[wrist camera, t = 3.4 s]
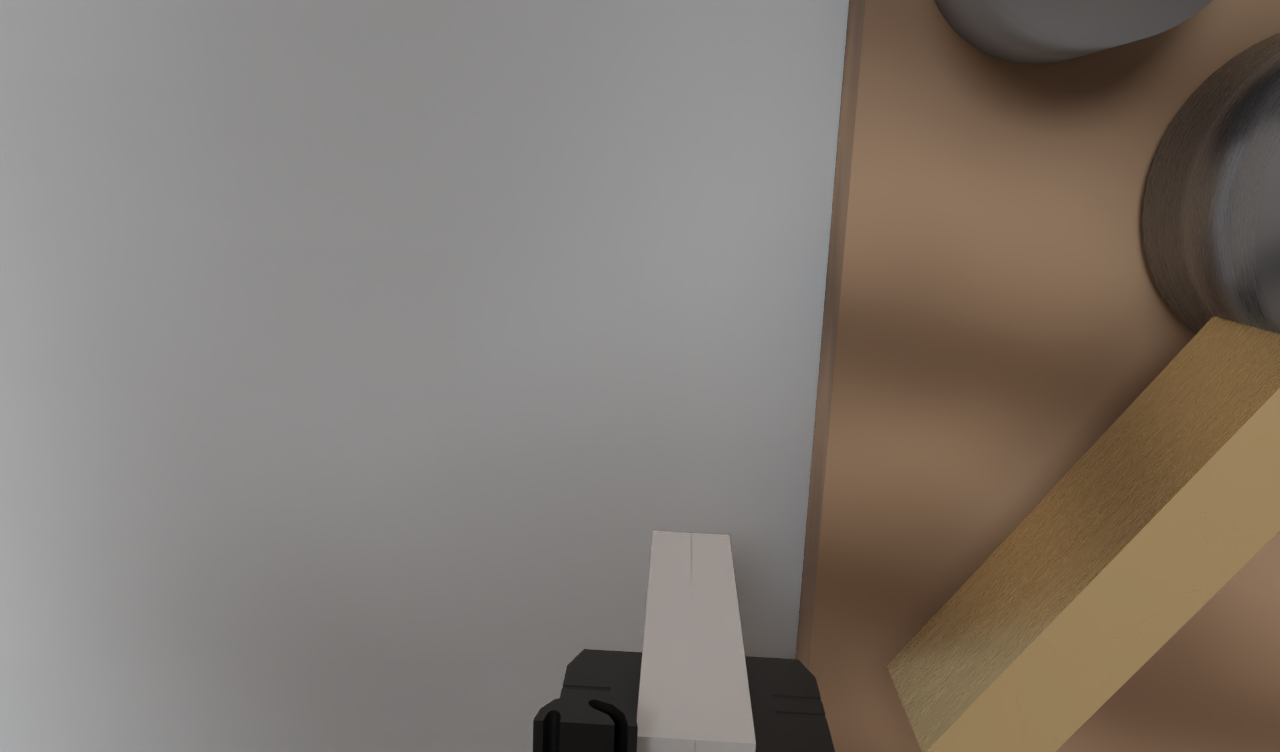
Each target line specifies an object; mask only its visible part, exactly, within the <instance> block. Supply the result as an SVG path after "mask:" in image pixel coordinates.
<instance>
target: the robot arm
mask: <svg viewBox="0 0 1280 752" xmlns="http://www.w3.org/2000/svg"><path fill="white" fill-rule="evenodd" d="M533 752H835V749H834V745H833V742H832V738H831V734H830V730H829V726H828V723H827V719H826V718H825V711H824V707H823V704H822V702H821V696H820V692H819V688H818V684H817V681H816V678H815V676H814V675H813V674H812V673H811V672H810V671H809V670H808V669H807V668H806V667H805V666H804V665H803V664H802V663H801V662H800V661H799V660H797V659H780V658H763V657H746V656H745V654H744V646H743V638H742V630H741V622H740V614H739V607H738V599H737V591H736V583H735V575H734V567H733V559H732V552H731V544H730V536H729V535H725V534H707V533H688V532H670V531H653V534H652V546H651V558H650V569H649V581H648V593H647V605H646V616H645V628H644V640H643V651H642V653H640V652H623V651H606V650H589V649H584V650H583V651H582V652H581V653H580V654H579V655H578V656H577V657H576V658H575V659H574V660H573V661H572V662H570V663H569V664H568V666H567V670H566V674H565V679H564V683H563V688H562V691H561V696H560V698H559V699H555V700H553V701H552V702H550V703H549V704H547V705H546V706H544V707H543V708H541V709H540V711H539V712H538V714H537V715H536V717H535V719H534V723H533Z"/></svg>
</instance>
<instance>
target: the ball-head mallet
mask: <svg viewBox="0 0 1280 752" xmlns="http://www.w3.org/2000/svg"><path fill="white" fill-rule="evenodd" d="M1142 225H1143V236H1144V246H1145V251H1146V255H1147V259H1148V264H1149V267H1150V270H1151V272H1152V275H1153V278H1154V280H1155V283H1156V285H1157V287H1158V289H1159V291H1160V292H1161V294H1162V296H1163V298H1164V299H1165V301H1166V303H1167V304H1168V306H1169V307H1170V308H1171V309H1172V311H1173V312H1174V313H1175V315H1176V316H1177V317H1178V318H1179V320H1181V321H1182V322H1183V323H1184V324H1185V325H1186V326H1187V327H1188V328H1189V329H1190V330H1191V331H1192V332H1193V333H1194V334H1196V335H1195V336H1194V337H1193V338H1192V339H1191V341H1190V342H1189V343H1188V344H1187V345H1186V346H1185V347H1184V348H1183V349H1182V350H1181V351H1180V352H1179V353H1178V354H1177V356H1176V357H1175V358H1174V359H1173V360H1172V361H1171V362H1170V363H1169V364H1168V365H1167V366H1166V367H1165V368H1164V369H1163V371H1162V372H1161V373H1160V374H1159V375H1158V376H1157V377H1156V378H1155V379H1154V380H1153V381H1152V382H1151V383H1150V385H1149V386H1148V387H1147V388H1146V389H1145V390H1144V391H1143V392H1142V393H1141V394H1140V395H1139V396H1138V397H1137V398H1136V400H1135V401H1134V402H1133V403H1132V404H1131V405H1130V406H1129V407H1128V408H1127V409H1126V410H1125V411H1124V412H1123V413H1122V415H1121V416H1120V417H1119V418H1118V419H1117V420H1116V421H1115V422H1114V423H1113V424H1112V425H1111V426H1110V427H1109V429H1108V430H1107V431H1106V432H1105V433H1104V434H1103V435H1102V436H1101V437H1100V438H1099V439H1098V440H1097V441H1096V442H1095V444H1094V445H1093V446H1092V447H1091V448H1090V449H1089V450H1088V451H1087V452H1086V453H1085V454H1084V455H1083V456H1082V457H1081V459H1080V460H1079V461H1078V462H1077V463H1076V464H1075V465H1074V466H1073V467H1072V468H1071V469H1070V470H1069V471H1068V473H1067V474H1066V475H1065V476H1064V477H1063V478H1062V479H1061V480H1060V481H1059V482H1058V483H1057V484H1056V485H1055V486H1054V488H1053V489H1052V490H1051V491H1050V492H1049V493H1048V494H1047V495H1046V496H1045V497H1044V498H1043V499H1042V500H1041V501H1040V503H1039V504H1038V505H1037V506H1036V507H1035V508H1034V509H1033V510H1032V511H1031V512H1030V513H1029V514H1028V515H1027V516H1026V518H1025V519H1024V520H1023V521H1022V522H1021V523H1020V524H1019V525H1018V526H1017V527H1016V528H1015V529H1014V530H1013V532H1012V533H1011V534H1010V535H1009V536H1008V537H1007V538H1006V539H1005V540H1004V541H1003V542H1002V543H1001V544H1000V545H999V547H998V548H997V549H996V550H995V551H994V552H993V553H992V554H991V555H990V556H989V557H988V558H987V559H986V560H985V562H984V563H983V564H982V565H981V566H980V567H979V568H978V569H977V570H976V571H975V572H974V573H973V574H972V576H971V577H970V578H969V579H968V580H967V581H966V582H965V583H964V584H963V585H962V586H961V587H960V588H959V589H958V591H957V592H956V593H955V594H954V595H953V596H952V597H951V598H950V599H949V600H948V601H947V602H946V603H945V604H944V606H943V607H942V608H941V609H940V610H939V611H938V612H937V613H936V614H935V615H934V616H933V617H932V618H931V620H930V621H929V622H928V623H927V624H926V625H925V626H924V627H923V628H922V629H921V630H920V631H919V632H918V633H917V635H916V636H915V637H914V638H913V639H912V640H911V641H910V642H909V643H908V644H907V645H906V646H905V647H904V648H903V650H902V651H901V652H900V653H899V654H898V655H897V656H896V657H895V658H894V659H893V660H892V661H891V662H890V663H889V665H888V666H887V668H888V671H889V673H890V676H891V678H892V680H893V683H894V685H895V688H896V690H897V693H898V695H899V697H900V700H901V702H902V705H903V707H904V710H905V712H906V714H907V717H908V719H909V722H910V724H911V727H912V729H913V731H914V734H915V736H916V739H917V741H918V744H919V746H920V748H921V751H922V752H1056V751H1057V750H1058V749H1059V748H1060V747H1061V746H1062V745H1063V744H1064V743H1065V742H1066V741H1067V740H1068V739H1069V738H1070V737H1071V736H1072V735H1073V734H1074V733H1075V732H1076V731H1077V730H1078V729H1079V728H1080V727H1081V726H1082V725H1083V724H1084V723H1085V722H1086V721H1087V720H1088V719H1089V718H1090V717H1091V716H1092V715H1093V714H1094V713H1095V712H1096V711H1097V710H1098V709H1099V708H1100V707H1101V706H1102V705H1103V704H1104V703H1105V702H1106V701H1107V700H1108V699H1109V698H1110V697H1111V696H1112V695H1113V694H1114V693H1115V692H1116V691H1117V690H1118V689H1119V688H1121V687H1122V686H1123V685H1124V684H1125V683H1126V682H1127V681H1128V680H1129V679H1130V678H1131V677H1132V676H1133V675H1134V674H1135V673H1136V672H1137V671H1138V670H1139V669H1140V668H1141V667H1142V666H1143V665H1144V664H1145V663H1146V662H1147V661H1148V660H1149V659H1150V658H1151V657H1152V656H1153V655H1154V654H1155V653H1156V652H1157V651H1158V650H1159V649H1160V648H1161V647H1162V646H1163V645H1164V644H1165V643H1166V642H1167V641H1168V640H1169V639H1170V638H1171V637H1172V636H1173V635H1174V634H1175V633H1176V632H1177V631H1178V630H1179V629H1180V628H1181V627H1182V626H1183V625H1184V624H1185V623H1186V622H1187V621H1189V620H1190V619H1191V618H1192V617H1193V616H1194V615H1195V614H1196V613H1197V612H1198V611H1199V610H1200V609H1201V608H1202V607H1203V606H1204V605H1205V604H1206V603H1207V602H1208V601H1209V600H1210V599H1211V598H1212V597H1213V596H1214V595H1215V594H1216V593H1217V592H1218V591H1219V590H1220V589H1221V588H1222V587H1223V586H1224V585H1225V584H1226V583H1227V582H1228V581H1229V580H1230V579H1231V578H1232V577H1233V576H1234V575H1235V574H1236V573H1237V572H1238V571H1239V570H1240V569H1241V568H1242V567H1243V566H1244V565H1245V564H1246V563H1247V562H1248V561H1249V560H1250V559H1251V558H1252V557H1253V556H1254V555H1256V554H1257V553H1258V552H1259V551H1260V550H1261V549H1262V548H1263V547H1264V546H1265V545H1266V544H1267V543H1268V542H1269V541H1270V540H1271V539H1272V538H1273V537H1274V536H1275V535H1276V534H1277V533H1278V532H1279V531H1280V33H1277V34H1274V35H1272V36H1270V37H1268V38H1266V39H1264V40H1262V41H1260V42H1258V43H1256V44H1254V45H1252V46H1250V47H1248V48H1247V49H1245V50H1244V51H1242V52H1241V53H1239V54H1238V55H1236V56H1234V57H1233V58H1231V59H1230V60H1229V61H1227V62H1226V63H1225V64H1224V65H1222V66H1221V67H1220V68H1219V69H1218V70H1216V71H1215V72H1214V73H1213V74H1211V75H1210V76H1209V77H1208V78H1207V79H1206V80H1205V81H1204V82H1203V83H1202V84H1201V85H1200V86H1199V87H1198V89H1197V90H1196V91H1195V92H1194V93H1193V94H1192V95H1191V96H1190V98H1189V99H1188V100H1187V101H1186V103H1185V104H1184V105H1183V107H1182V108H1181V109H1180V110H1179V112H1178V113H1177V115H1176V116H1175V118H1174V120H1173V121H1172V123H1171V125H1170V126H1169V128H1168V130H1167V131H1166V133H1165V135H1164V137H1163V139H1162V141H1161V143H1160V146H1159V148H1158V150H1157V152H1156V154H1155V157H1154V160H1153V163H1152V166H1151V169H1150V173H1149V176H1148V179H1147V185H1146V190H1145V196H1144V201H1143V222H1142Z"/></svg>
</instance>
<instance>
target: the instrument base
mask: <svg viewBox="0 0 1280 752" xmlns="http://www.w3.org/2000/svg"><path fill="white" fill-rule="evenodd" d="M1277 33H1280V0H849V10H848V22H847V35H846V47H845V59H844V71H843V84H842V96H841V108H840V120H839V133H838V145H837V157H836V169H835V182H834V194H833V206H832V218H831V231H830V243H829V255H828V267H827V280H826V292H825V304H824V316H823V329H822V341H821V353H820V366H819V378H818V390H817V402H816V415H815V427H814V439H813V451H812V464H811V476H810V488H809V500H808V513H807V525H806V537H805V549H804V562H803V574H802V586H801V598H800V611H799V623H798V635H797V648H796V659H797V660H799V661H800V662H801V663H802V664H803V665H804V666H805V667H806V668H807V669H808V670H809V671H810V672H811V673H812V674H813V675H814V676H815V678H816V681H817V684H818V688H819V692H820V696H821V702H822V704H823V707H824V711H825V718H826V719H827V723H828V726H829V730H830V734H831V738H832V742H833V745H834V749H835V752H922V751H921V748H920V746H919V744H918V741H917V739H916V736H915V734H914V731H913V729H912V727H911V724H910V722H909V719H908V717H907V714H906V712H905V710H904V707H903V705H902V702H901V700H900V697H899V695H898V693H897V690H896V688H895V685H894V683H893V680H892V678H891V676H890V673H889V671H888V668H887V666H888V665H889V663H890V662H891V661H892V660H893V659H894V658H895V657H896V656H897V655H898V654H899V653H900V652H901V651H902V650H903V648H904V647H905V646H906V645H907V644H908V643H909V642H910V641H911V640H912V639H913V638H914V637H915V636H916V635H917V633H918V632H919V631H920V630H921V629H922V628H923V627H924V626H925V625H926V624H927V623H928V622H929V621H930V620H931V618H932V617H933V616H934V615H935V614H936V613H937V612H938V611H939V610H940V609H941V608H942V607H943V606H944V604H945V603H946V602H947V601H948V600H949V599H950V598H951V597H952V596H953V595H954V594H955V593H956V592H957V591H958V589H959V588H960V587H961V586H962V585H963V584H964V583H965V582H966V581H967V580H968V579H969V578H970V577H971V576H972V574H973V573H974V572H975V571H976V570H977V569H978V568H979V567H980V566H981V565H982V564H983V563H984V562H985V560H986V559H987V558H988V557H989V556H990V555H991V554H992V553H993V552H994V551H995V550H996V549H997V548H998V547H999V545H1000V544H1001V543H1002V542H1003V541H1004V540H1005V539H1006V538H1007V537H1008V536H1009V535H1010V534H1011V533H1012V532H1013V530H1014V529H1015V528H1016V527H1017V526H1018V525H1019V524H1020V523H1021V522H1022V521H1023V520H1024V519H1025V518H1026V516H1027V515H1028V514H1029V513H1030V512H1031V511H1032V510H1033V509H1034V508H1035V507H1036V506H1037V505H1038V504H1039V503H1040V501H1041V500H1042V499H1043V498H1044V497H1045V496H1046V495H1047V494H1048V493H1049V492H1050V491H1051V490H1052V489H1053V488H1054V486H1055V485H1056V484H1057V483H1058V482H1059V481H1060V480H1061V479H1062V478H1063V477H1064V476H1065V475H1066V474H1067V473H1068V471H1069V470H1070V469H1071V468H1072V467H1073V466H1074V465H1075V464H1076V463H1077V462H1078V461H1079V460H1080V459H1081V457H1082V456H1083V455H1084V454H1085V453H1086V452H1087V451H1088V450H1089V449H1090V448H1091V447H1092V446H1093V445H1094V444H1095V442H1096V441H1097V440H1098V439H1099V438H1100V437H1101V436H1102V435H1103V434H1104V433H1105V432H1106V431H1107V430H1108V429H1109V427H1110V426H1111V425H1112V424H1113V423H1114V422H1115V421H1116V420H1117V419H1118V418H1119V417H1120V416H1121V415H1122V413H1123V412H1124V411H1125V410H1126V409H1127V408H1128V407H1129V406H1130V405H1131V404H1132V403H1133V402H1134V401H1135V400H1136V398H1137V397H1138V396H1139V395H1140V394H1141V393H1142V392H1143V391H1144V390H1145V389H1146V388H1147V387H1148V386H1149V385H1150V383H1151V382H1152V381H1153V380H1154V379H1155V378H1156V377H1157V376H1158V375H1159V374H1160V373H1161V372H1162V371H1163V369H1164V368H1165V367H1166V366H1167V365H1168V364H1169V363H1170V362H1171V361H1172V360H1173V359H1174V358H1175V357H1176V356H1177V354H1178V353H1179V352H1180V351H1181V350H1182V349H1183V348H1184V347H1185V346H1186V345H1187V344H1188V343H1189V342H1190V341H1191V339H1192V338H1193V337H1194V336H1195V335H1196V334H1194V333H1193V332H1192V331H1191V330H1190V329H1189V328H1188V327H1187V326H1186V325H1185V324H1184V323H1183V322H1182V321H1181V320H1179V318H1178V317H1177V316H1176V315H1175V313H1174V312H1173V311H1172V309H1171V308H1170V307H1169V306H1168V304H1167V303H1166V301H1165V299H1164V298H1163V296H1162V294H1161V292H1160V291H1159V289H1158V287H1157V285H1156V283H1155V280H1154V278H1153V275H1152V272H1151V270H1150V267H1149V264H1148V259H1147V255H1146V251H1145V246H1144V236H1143V225H1142V222H1143V201H1144V196H1145V190H1146V185H1147V179H1148V176H1149V173H1150V169H1151V166H1152V163H1153V160H1154V157H1155V154H1156V152H1157V150H1158V148H1159V146H1160V143H1161V141H1162V139H1163V137H1164V135H1165V133H1166V131H1167V130H1168V128H1169V126H1170V125H1171V123H1172V121H1173V120H1174V118H1175V116H1176V115H1177V113H1178V112H1179V110H1180V109H1181V108H1182V107H1183V105H1184V104H1185V103H1186V101H1187V100H1188V99H1189V98H1190V96H1191V95H1192V94H1193V93H1194V92H1195V91H1196V90H1197V89H1198V87H1199V86H1200V85H1201V84H1202V83H1203V82H1204V81H1205V80H1206V79H1207V78H1208V77H1209V76H1210V75H1211V74H1213V73H1214V72H1215V71H1216V70H1218V69H1219V68H1220V67H1221V66H1222V65H1224V64H1225V63H1226V62H1227V61H1229V60H1230V59H1231V58H1233V57H1234V56H1236V55H1238V54H1239V53H1241V52H1242V51H1244V50H1245V49H1247V48H1248V47H1250V46H1252V45H1254V44H1256V43H1258V42H1260V41H1262V40H1264V39H1266V38H1268V37H1270V36H1272V35H1274V34H1277ZM1056 752H1280V531H1279V532H1278V533H1277V534H1276V535H1275V536H1274V537H1273V538H1272V539H1271V540H1270V541H1269V542H1268V543H1267V544H1266V545H1265V546H1264V547H1263V548H1262V549H1261V550H1260V551H1259V552H1258V553H1257V554H1256V555H1254V556H1253V557H1252V558H1251V559H1250V560H1249V561H1248V562H1247V563H1246V564H1245V565H1244V566H1243V567H1242V568H1241V569H1240V570H1239V571H1238V572H1237V573H1236V574H1235V575H1234V576H1233V577H1232V578H1231V579H1230V580H1229V581H1228V582H1227V583H1226V584H1225V585H1224V586H1223V587H1222V588H1221V589H1220V590H1219V591H1218V592H1217V593H1216V594H1215V595H1214V596H1213V597H1212V598H1211V599H1210V600H1209V601H1208V602H1207V603H1206V604H1205V605H1204V606H1203V607H1202V608H1201V609H1200V610H1199V611H1198V612H1197V613H1196V614H1195V615H1194V616H1193V617H1192V618H1191V619H1190V620H1189V621H1187V622H1186V623H1185V624H1184V625H1183V626H1182V627H1181V628H1180V629H1179V630H1178V631H1177V632H1176V633H1175V634H1174V635H1173V636H1172V637H1171V638H1170V639H1169V640H1168V641H1167V642H1166V643H1165V644H1164V645H1163V646H1162V647H1161V648H1160V649H1159V650H1158V651H1157V652H1156V653H1155V654H1154V655H1153V656H1152V657H1151V658H1150V659H1149V660H1148V661H1147V662H1146V663H1145V664H1144V665H1143V666H1142V667H1141V668H1140V669H1139V670H1138V671H1137V672H1136V673H1135V674H1134V675H1133V676H1132V677H1131V678H1130V679H1129V680H1128V681H1127V682H1126V683H1125V684H1124V685H1123V686H1122V687H1121V688H1119V689H1118V690H1117V691H1116V692H1115V693H1114V694H1113V695H1112V696H1111V697H1110V698H1109V699H1108V700H1107V701H1106V702H1105V703H1104V704H1103V705H1102V706H1101V707H1100V708H1099V709H1098V710H1097V711H1096V712H1095V713H1094V714H1093V715H1092V716H1091V717H1090V718H1089V719H1088V720H1087V721H1086V722H1085V723H1084V724H1083V725H1082V726H1081V727H1080V728H1079V729H1078V730H1077V731H1076V732H1075V733H1074V734H1073V735H1072V736H1071V737H1070V738H1069V739H1068V740H1067V741H1066V742H1065V743H1064V744H1063V745H1062V746H1061V747H1060V748H1059V749H1058V750H1057V751H1056Z"/></svg>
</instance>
